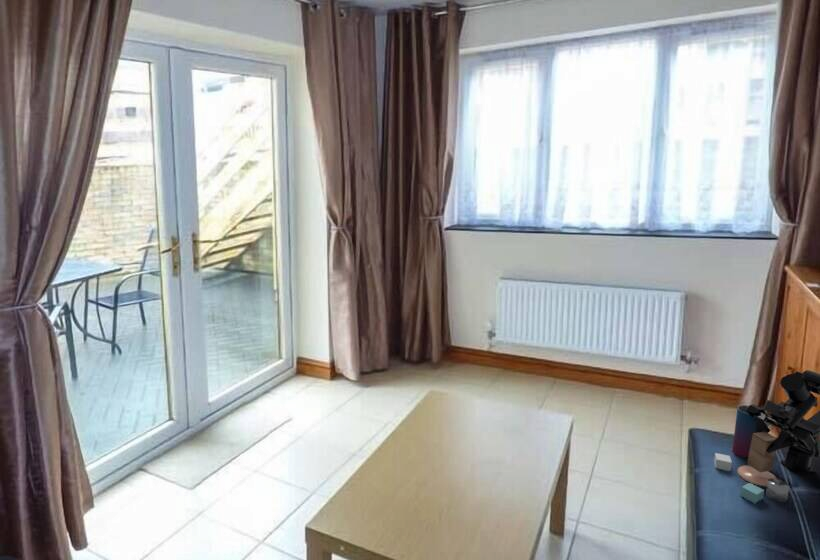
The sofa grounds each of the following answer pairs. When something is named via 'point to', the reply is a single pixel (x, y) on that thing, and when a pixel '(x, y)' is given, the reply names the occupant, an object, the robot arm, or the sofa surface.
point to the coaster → (755, 475)
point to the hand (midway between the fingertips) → (759, 447)
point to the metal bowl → (777, 490)
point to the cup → (743, 432)
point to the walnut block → (761, 452)
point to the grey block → (722, 461)
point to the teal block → (752, 492)
